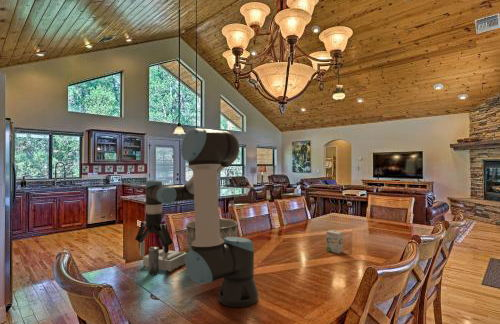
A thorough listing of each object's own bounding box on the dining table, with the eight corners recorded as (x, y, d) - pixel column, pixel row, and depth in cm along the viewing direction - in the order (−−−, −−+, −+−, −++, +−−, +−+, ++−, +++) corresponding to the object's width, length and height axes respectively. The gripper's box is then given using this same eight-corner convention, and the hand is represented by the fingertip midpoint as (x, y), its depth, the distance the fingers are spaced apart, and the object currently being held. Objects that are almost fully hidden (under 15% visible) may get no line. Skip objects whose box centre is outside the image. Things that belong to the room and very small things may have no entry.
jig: (170, 271, 138) (170, 259, 138) (143, 266, 144) (143, 255, 144) (187, 262, 151) (187, 251, 151) (161, 258, 157) (161, 248, 157)
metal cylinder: (154, 275, 133) (154, 249, 133) (146, 274, 134) (146, 248, 134) (160, 272, 137) (161, 247, 137) (153, 270, 139) (153, 246, 139)
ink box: (325, 250, 172) (325, 231, 172) (330, 249, 176) (330, 229, 176) (338, 253, 166) (338, 233, 166) (343, 252, 169) (343, 232, 170)
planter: (187, 278, 129) (187, 230, 130) (184, 260, 154) (185, 219, 155) (243, 273, 136) (243, 226, 136) (232, 256, 161) (232, 217, 162)
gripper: (180, 213, 135) (179, 258, 135) (139, 209, 144) (138, 251, 144) (170, 216, 128) (169, 263, 128) (127, 212, 137) (127, 256, 137)
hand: (153, 257), depth 136 cm, fingers open, 13 cm apart
